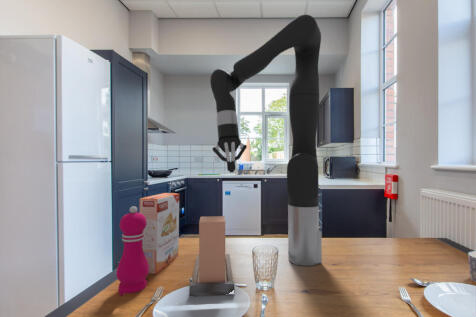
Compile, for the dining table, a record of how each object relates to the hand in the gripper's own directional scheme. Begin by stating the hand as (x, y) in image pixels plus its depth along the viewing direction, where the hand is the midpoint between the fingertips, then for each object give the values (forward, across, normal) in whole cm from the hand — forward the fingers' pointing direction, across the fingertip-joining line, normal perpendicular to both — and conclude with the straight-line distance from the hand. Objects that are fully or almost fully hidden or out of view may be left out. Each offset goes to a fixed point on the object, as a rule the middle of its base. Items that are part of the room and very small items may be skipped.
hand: (231, 172), depth 91 cm
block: (+28, -9, -27) cm, 39 cm away
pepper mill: (+27, -28, -26) cm, 46 cm away
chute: (+28, -9, -20) cm, 36 cm away
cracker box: (+26, -24, -12) cm, 38 cm away
